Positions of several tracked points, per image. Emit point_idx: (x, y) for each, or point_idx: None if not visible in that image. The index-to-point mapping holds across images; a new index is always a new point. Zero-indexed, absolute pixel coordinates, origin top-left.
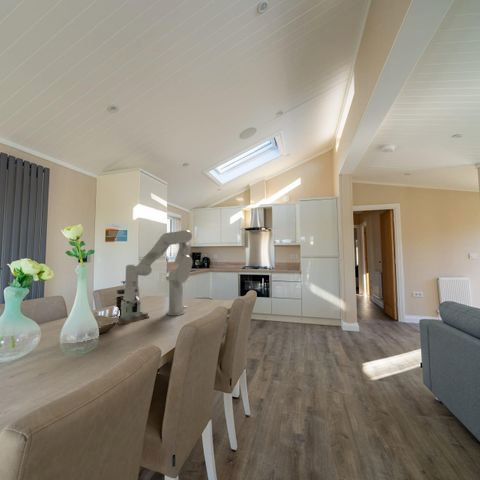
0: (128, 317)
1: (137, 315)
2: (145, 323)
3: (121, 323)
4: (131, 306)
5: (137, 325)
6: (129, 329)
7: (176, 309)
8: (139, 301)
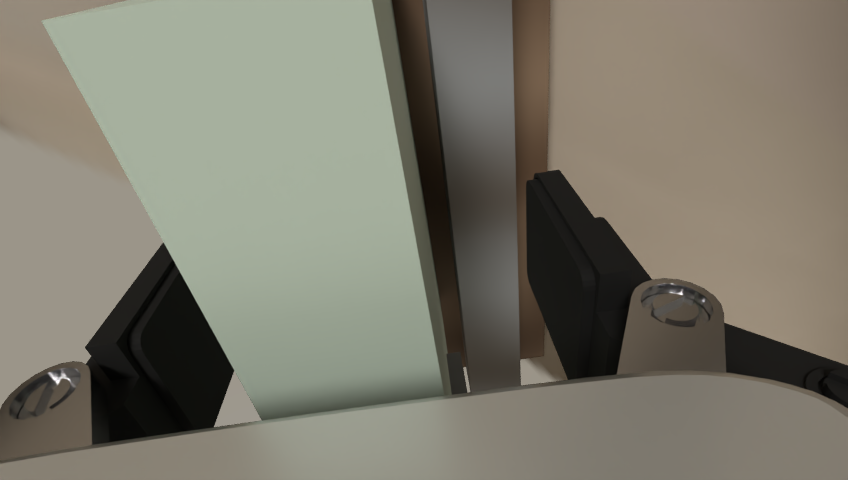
0: (505, 283)
1: (511, 106)
2: (796, 74)
3: (542, 348)
4: (443, 355)
5: (743, 211)
6: (766, 329)
7: None
8: (337, 55)
